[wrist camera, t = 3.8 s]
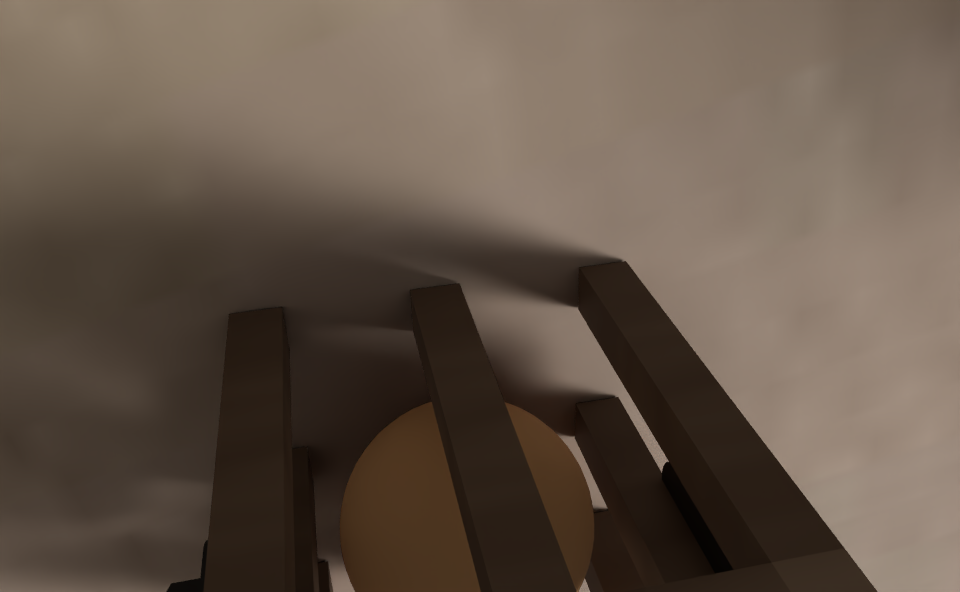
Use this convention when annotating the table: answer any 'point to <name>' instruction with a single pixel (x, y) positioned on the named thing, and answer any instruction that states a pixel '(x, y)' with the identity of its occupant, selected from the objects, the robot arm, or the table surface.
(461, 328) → the shaker cage
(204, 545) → the robot arm
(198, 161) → the table surface
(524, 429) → the ball
